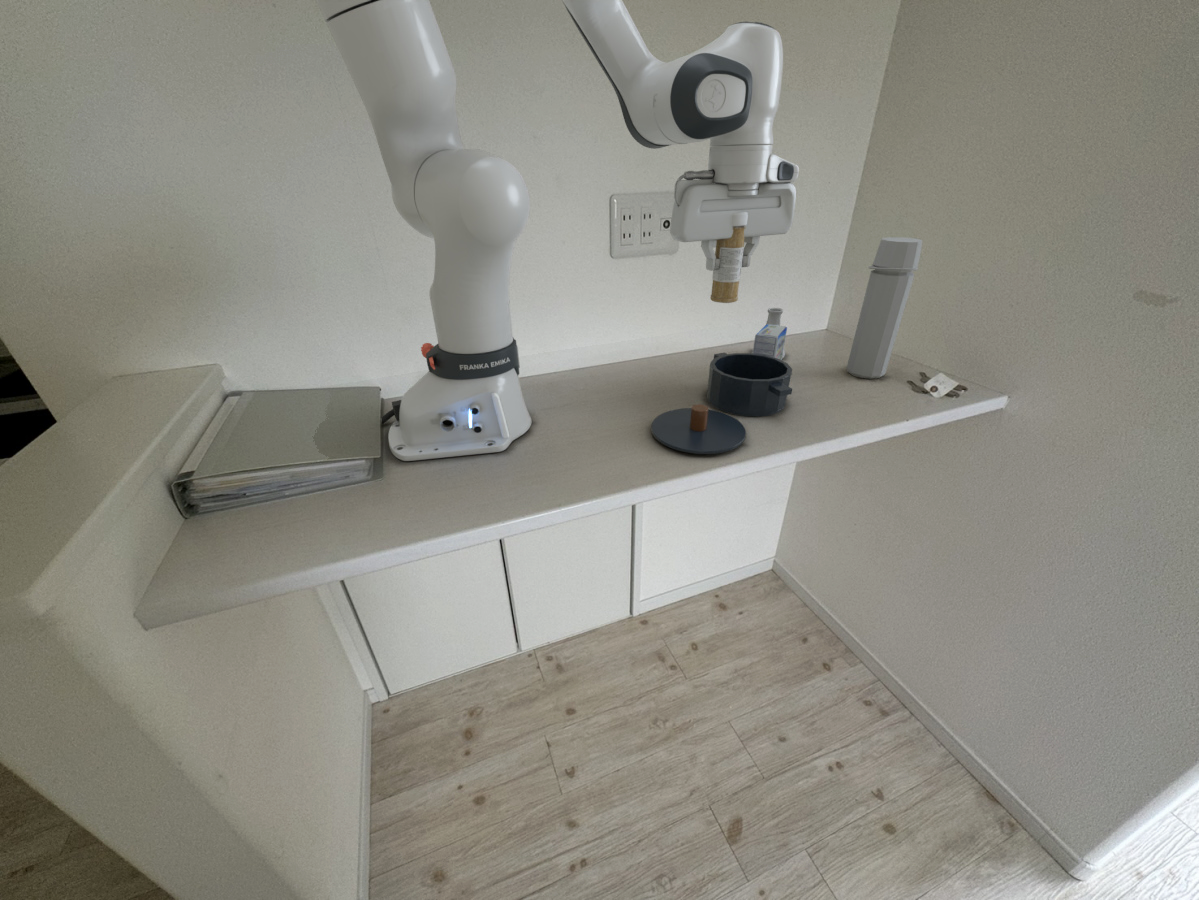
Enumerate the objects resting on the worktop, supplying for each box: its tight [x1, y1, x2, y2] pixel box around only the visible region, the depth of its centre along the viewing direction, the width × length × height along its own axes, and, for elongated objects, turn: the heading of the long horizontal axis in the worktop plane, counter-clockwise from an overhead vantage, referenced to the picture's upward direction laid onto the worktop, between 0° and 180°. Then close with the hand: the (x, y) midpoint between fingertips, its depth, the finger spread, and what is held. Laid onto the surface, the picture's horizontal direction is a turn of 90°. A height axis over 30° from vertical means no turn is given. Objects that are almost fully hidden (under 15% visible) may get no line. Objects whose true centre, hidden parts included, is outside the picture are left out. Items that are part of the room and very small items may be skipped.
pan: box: [706, 352, 793, 418], centre depth 88 cm, size 14×19×6 cm
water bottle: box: [846, 236, 924, 380], centre depth 94 cm, size 9×8×25 cm
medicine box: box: [752, 323, 788, 361], centre depth 99 cm, size 8×4×9 cm, turn 150°
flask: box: [751, 307, 786, 359], centre depth 107 cm, size 7×7×10 cm
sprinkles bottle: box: [709, 212, 748, 304], centre depth 79 cm, size 5×5×14 cm
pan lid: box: [650, 403, 747, 455], centre depth 77 cm, size 15×15×5 cm
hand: (727, 268), depth 79 cm, fingers closed on sprinkles bottle, 4 cm apart
